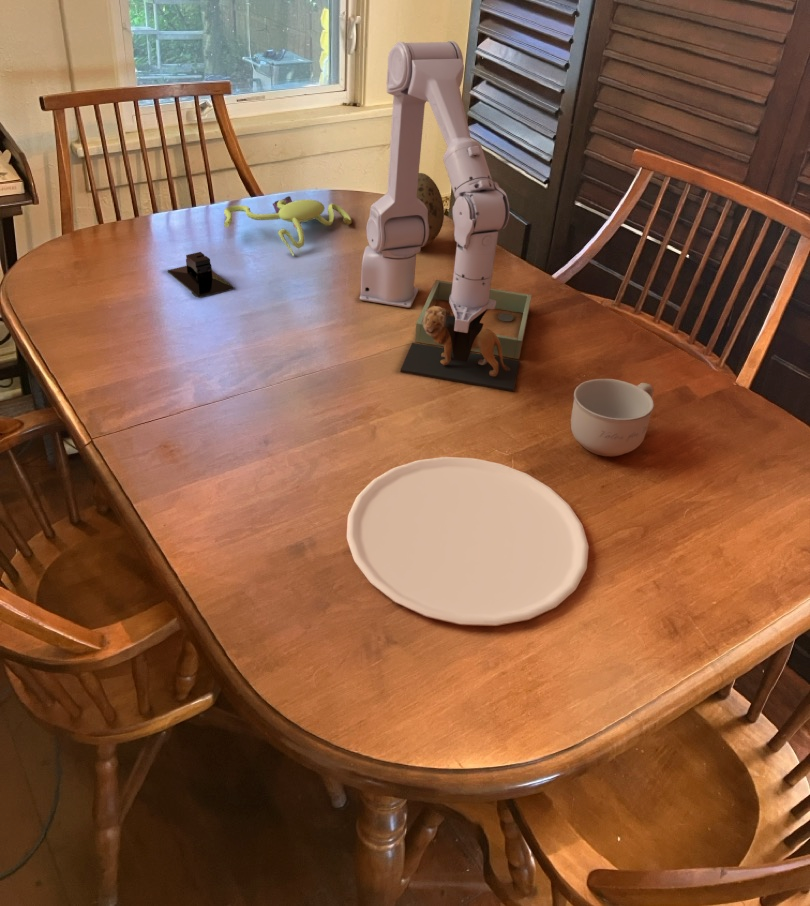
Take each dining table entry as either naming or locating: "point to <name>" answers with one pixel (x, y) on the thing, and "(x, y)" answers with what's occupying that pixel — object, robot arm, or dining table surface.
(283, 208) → the figurine
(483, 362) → the lion figurine
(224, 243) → the dining table surface
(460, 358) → the robot arm
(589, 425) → the teacup
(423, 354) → the mat
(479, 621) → the plate
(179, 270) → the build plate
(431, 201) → the decorative egg
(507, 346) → the green square tray
